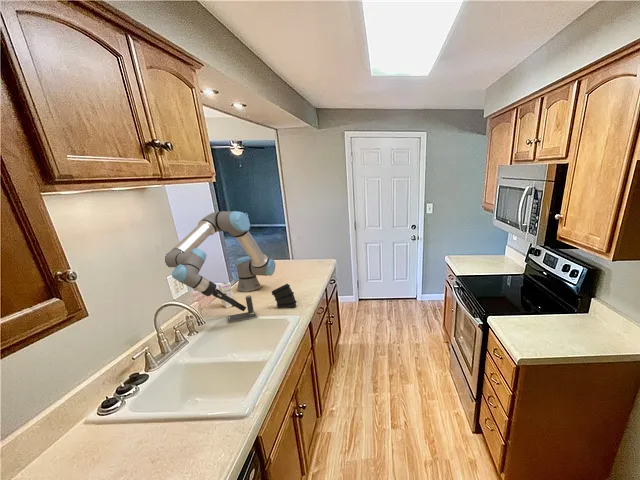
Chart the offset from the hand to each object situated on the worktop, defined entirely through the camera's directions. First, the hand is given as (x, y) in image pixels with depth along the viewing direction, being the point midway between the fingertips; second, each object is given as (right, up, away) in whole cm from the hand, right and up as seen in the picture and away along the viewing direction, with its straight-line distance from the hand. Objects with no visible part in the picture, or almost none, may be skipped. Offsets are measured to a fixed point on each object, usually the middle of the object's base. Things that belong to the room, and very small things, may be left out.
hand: (239, 306), depth 185 cm
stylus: (+4, -5, +6) cm, 8 cm away
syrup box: (-18, 0, +22) cm, 28 cm away
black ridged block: (+19, -1, +19) cm, 27 cm away
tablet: (-1, -7, +4) cm, 8 cm away
